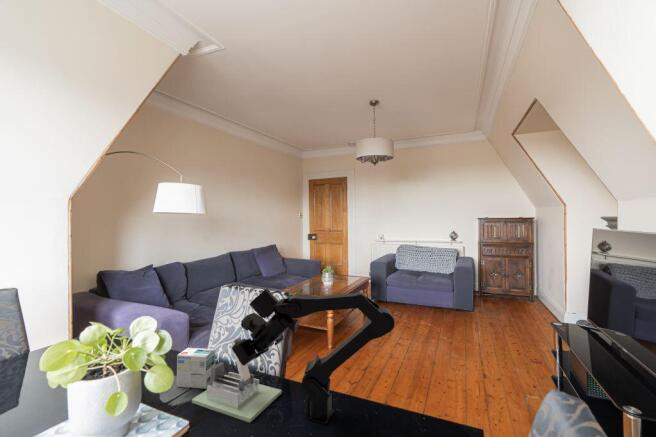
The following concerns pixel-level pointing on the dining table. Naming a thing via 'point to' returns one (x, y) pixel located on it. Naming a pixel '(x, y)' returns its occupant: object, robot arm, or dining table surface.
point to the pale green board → (245, 411)
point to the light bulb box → (195, 367)
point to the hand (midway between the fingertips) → (243, 358)
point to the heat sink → (230, 388)
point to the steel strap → (242, 368)
